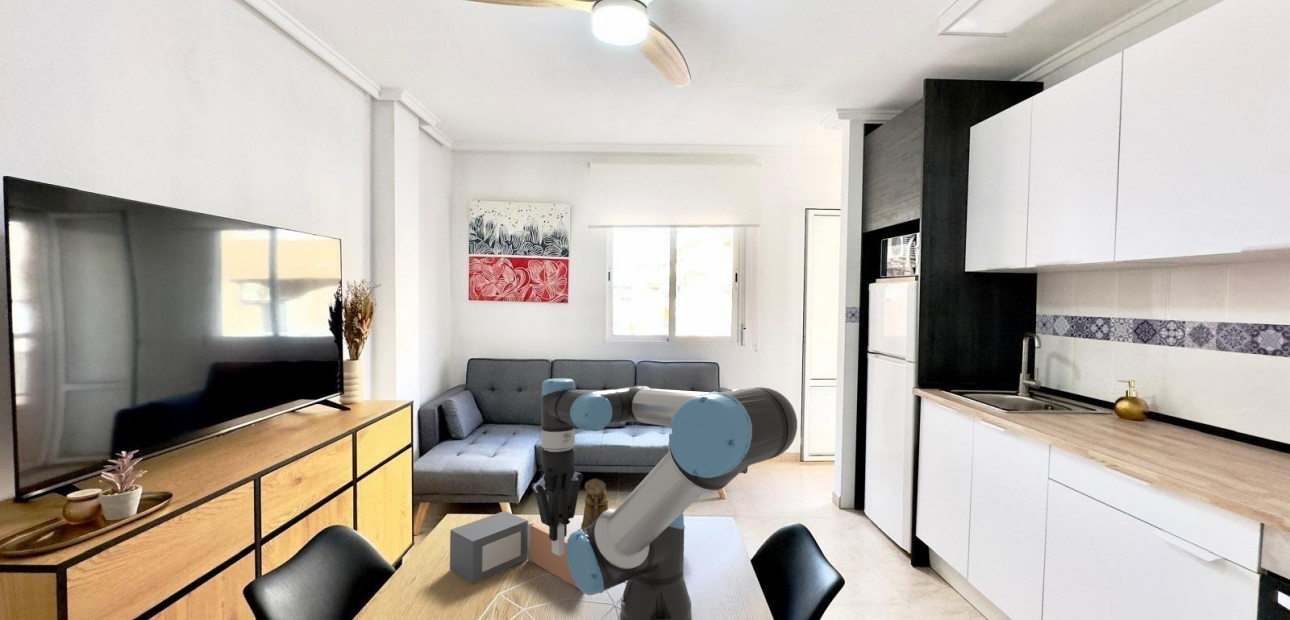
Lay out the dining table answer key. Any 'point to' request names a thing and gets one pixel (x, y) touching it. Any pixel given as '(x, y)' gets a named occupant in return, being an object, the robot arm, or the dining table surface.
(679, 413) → the robot arm
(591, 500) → the bronze figurine
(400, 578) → the dining table surface
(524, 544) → the case
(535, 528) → the side door
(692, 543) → the dining table surface
